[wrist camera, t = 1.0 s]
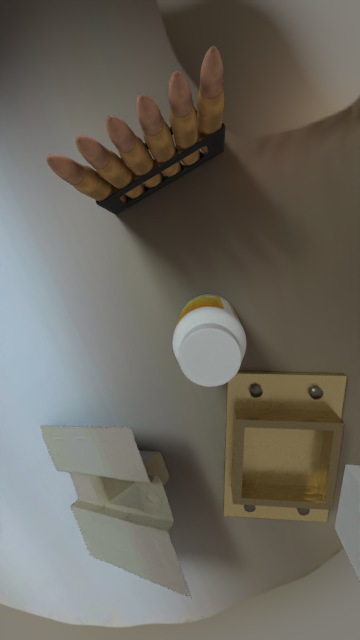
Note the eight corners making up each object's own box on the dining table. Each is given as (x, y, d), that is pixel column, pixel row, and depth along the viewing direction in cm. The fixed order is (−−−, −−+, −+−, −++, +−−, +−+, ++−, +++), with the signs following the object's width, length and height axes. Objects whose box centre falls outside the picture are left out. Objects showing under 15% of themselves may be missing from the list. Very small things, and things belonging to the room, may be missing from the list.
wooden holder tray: (227, 370, 28) (229, 382, 26) (343, 373, 27) (357, 385, 25) (223, 510, 32) (224, 532, 30) (324, 517, 32) (335, 540, 29)
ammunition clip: (115, 215, 26) (42, 186, 14) (105, 195, 25) (22, 150, 14) (224, 150, 24) (242, 57, 12) (214, 128, 24) (224, 11, 12)
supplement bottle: (168, 328, 28) (151, 368, 18) (200, 282, 27) (198, 299, 17) (214, 358, 28) (220, 412, 19) (248, 314, 27) (271, 348, 18)
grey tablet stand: (149, 507, 38) (234, 559, 27) (89, 560, 33) (163, 655, 21) (107, 391, 38) (175, 393, 26) (38, 425, 32) (86, 447, 20)
